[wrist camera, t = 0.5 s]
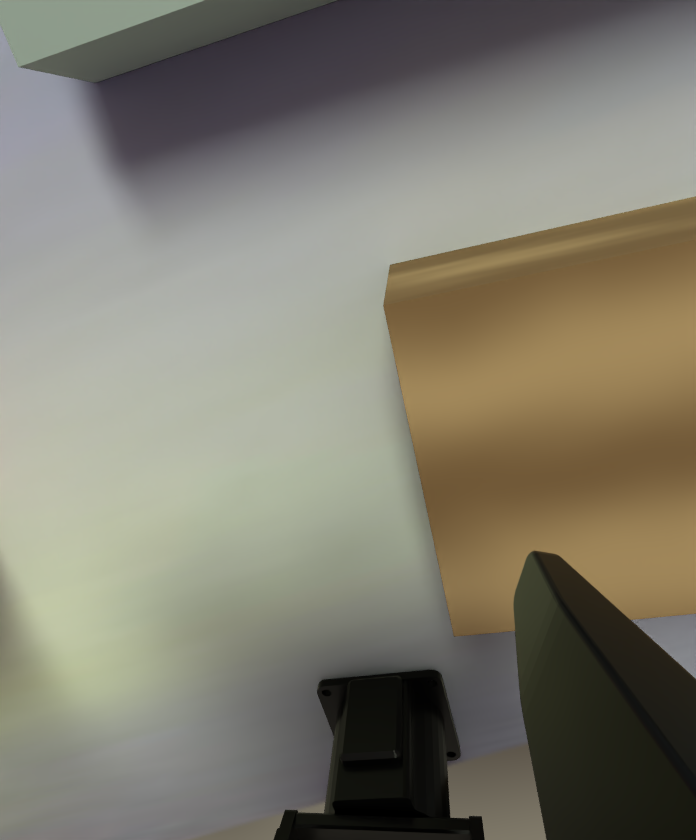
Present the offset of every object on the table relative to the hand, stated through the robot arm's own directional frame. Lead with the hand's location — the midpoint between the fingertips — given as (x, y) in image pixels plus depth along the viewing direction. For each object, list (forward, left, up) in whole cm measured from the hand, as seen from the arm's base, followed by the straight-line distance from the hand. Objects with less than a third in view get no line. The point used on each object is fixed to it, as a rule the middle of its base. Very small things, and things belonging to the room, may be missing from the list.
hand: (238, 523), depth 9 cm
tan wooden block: (-5, -8, -14) cm, 17 cm away
